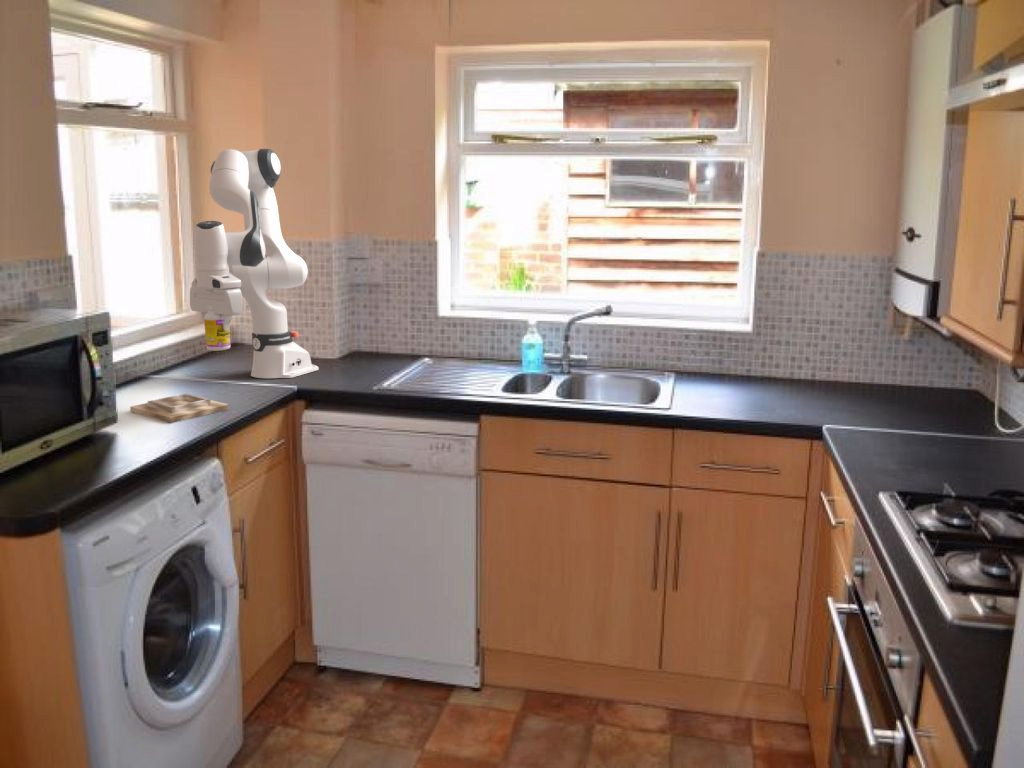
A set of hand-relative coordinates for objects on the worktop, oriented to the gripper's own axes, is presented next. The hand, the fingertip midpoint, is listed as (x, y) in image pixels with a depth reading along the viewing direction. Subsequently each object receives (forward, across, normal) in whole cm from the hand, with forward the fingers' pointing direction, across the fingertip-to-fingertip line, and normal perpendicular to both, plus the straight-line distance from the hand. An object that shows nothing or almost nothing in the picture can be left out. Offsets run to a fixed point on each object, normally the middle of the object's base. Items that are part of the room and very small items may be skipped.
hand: (217, 329), depth 262 cm
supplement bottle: (+6, 0, 0) cm, 6 cm away
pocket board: (+22, -2, -13) cm, 25 cm away
